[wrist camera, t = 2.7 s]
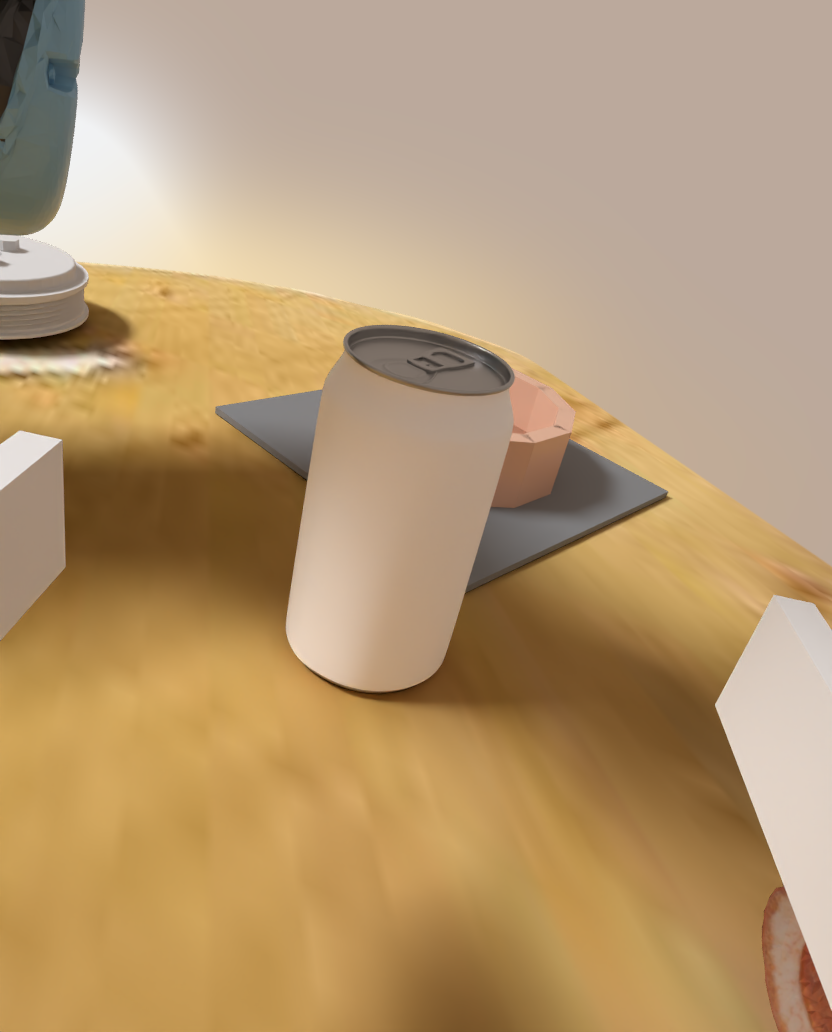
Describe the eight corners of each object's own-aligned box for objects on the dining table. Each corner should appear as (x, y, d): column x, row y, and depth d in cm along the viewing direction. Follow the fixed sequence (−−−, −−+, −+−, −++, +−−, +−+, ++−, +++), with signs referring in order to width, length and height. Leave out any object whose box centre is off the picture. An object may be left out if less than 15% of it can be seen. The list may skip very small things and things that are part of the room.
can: (248, 632, 29) (286, 332, 23) (356, 573, 34) (411, 312, 28) (375, 728, 27) (456, 414, 21) (474, 648, 31) (562, 376, 25)
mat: (215, 412, 45) (215, 406, 45) (439, 375, 59) (441, 370, 59) (462, 594, 35) (464, 587, 34) (666, 497, 48) (668, 491, 48)
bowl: (299, 422, 45) (308, 358, 43) (443, 394, 54) (456, 340, 52) (458, 529, 39) (477, 459, 37) (593, 477, 48) (614, 419, 46)
